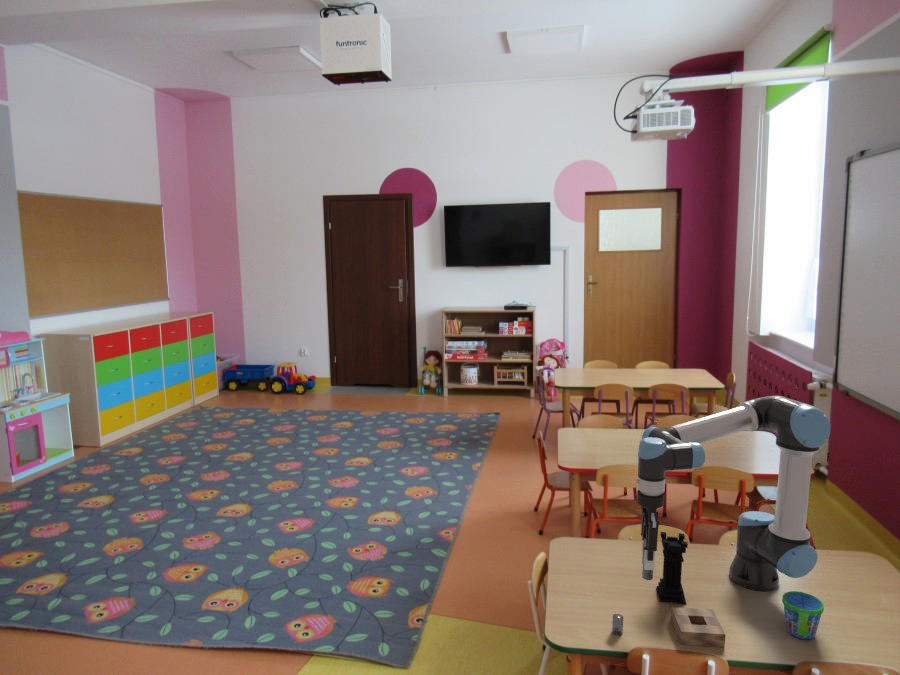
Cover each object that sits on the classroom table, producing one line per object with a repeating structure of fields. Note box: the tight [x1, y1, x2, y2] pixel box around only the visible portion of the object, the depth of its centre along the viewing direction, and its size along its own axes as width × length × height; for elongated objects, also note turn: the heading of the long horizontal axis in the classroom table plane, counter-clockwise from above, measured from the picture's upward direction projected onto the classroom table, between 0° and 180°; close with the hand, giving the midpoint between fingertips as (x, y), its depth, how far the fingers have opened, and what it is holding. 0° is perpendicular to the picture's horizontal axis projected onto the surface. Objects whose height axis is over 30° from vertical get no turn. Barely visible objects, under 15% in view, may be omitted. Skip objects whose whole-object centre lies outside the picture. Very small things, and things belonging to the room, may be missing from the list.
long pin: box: [641, 537, 654, 581], centre depth 187 cm, size 3×3×12 cm
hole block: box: [670, 607, 726, 648], centre depth 185 cm, size 12×12×4 cm
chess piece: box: [656, 531, 689, 605], centre depth 202 cm, size 8×8×20 cm
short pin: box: [611, 613, 624, 637], centre depth 185 cm, size 3×3×5 cm
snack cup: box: [781, 590, 825, 640], centre depth 184 cm, size 16×10×10 cm
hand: (647, 565), depth 188 cm, fingers closed on long pin, 3 cm apart
